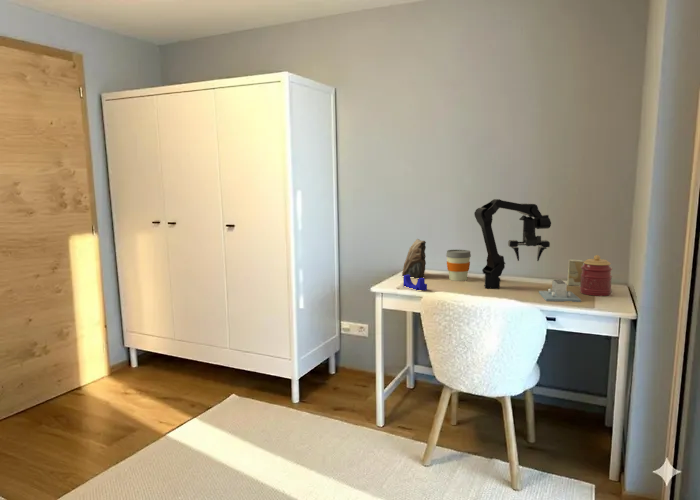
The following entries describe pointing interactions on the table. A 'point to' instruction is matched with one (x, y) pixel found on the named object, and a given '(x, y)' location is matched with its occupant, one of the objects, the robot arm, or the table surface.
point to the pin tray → (551, 297)
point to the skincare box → (574, 272)
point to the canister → (596, 277)
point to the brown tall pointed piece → (415, 260)
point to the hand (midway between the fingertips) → (528, 260)
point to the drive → (559, 288)
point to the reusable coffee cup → (458, 264)
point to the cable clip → (418, 286)
